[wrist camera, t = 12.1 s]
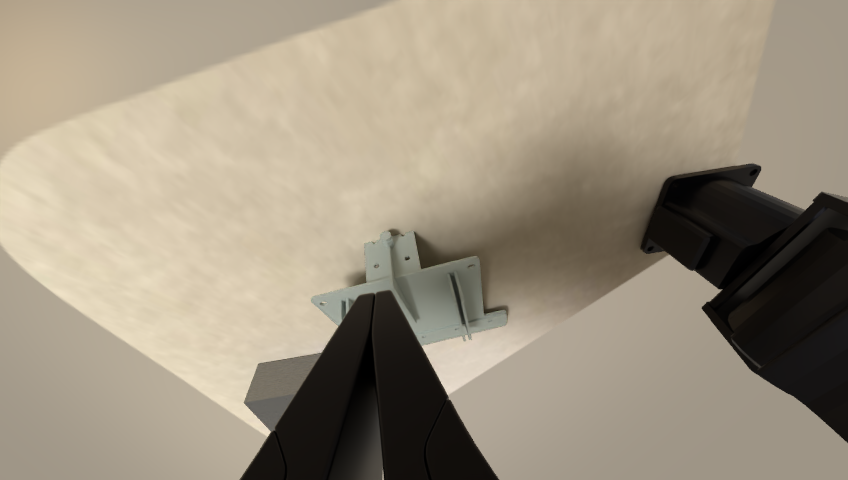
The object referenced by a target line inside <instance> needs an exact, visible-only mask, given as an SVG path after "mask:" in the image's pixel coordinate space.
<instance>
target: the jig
mask: <svg viewBox="0 0 848 480" xmlns="http://www.w3.org/2000/svg"><path fill="white" fill-rule="evenodd" d="M320 355H321V353H320V354H314V355H308V356H303V357H297V358H291V359H285V360H279V361H273V362H267V363H261V364H258V366H257V369H256V372H255V374H254V377H253V379H252V382H251V385H250V387H249V390H248V393H247V395H246V398H245V401H244V404H245V405H246V406H247V407H248V408H249V409H250V410H251V411H252V412H253V413H254V414H255V415H256V416H257V417H258V418H259V419H260V420H261V421H262V423H263V424H264V425H265V426H266V427H267V428H268V429H269V430H270V431H273V430H275V425H276V424H277V422H278V420H279V419H280V417H281V416H282V414H283V413H284V411H285V410H286V408H287V406H288V405H289V403H290V402H291V400H292V399H293V397H294V395H295V394H296V392H297V391H298V389H299V388H300V386H301V384H302V383H303V381H304V380H305V378H306V377H307V375H308V373H309V372H310V370H311V369H312V367H313V366H314V364H315V363H316V361H317V359H318V358H319V356H320Z"/></svg>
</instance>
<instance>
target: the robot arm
mask: <svg viewBox="0 0 848 480" xmlns="http://www.w3.org/2000/svg"><path fill="white" fill-rule="evenodd" d="M760 171H761V166H759V165H756V164H746V165H740V166H733V167H727V168H721V169H715V170H709V171H703V172H696V173H690V174H684V175H678V176H673V177H670V178H669V179H668V180H667V181H666V182H665V184H664V186H663V189H662V192H661V194H660V197H659V200H658V202H657V205H656V208H655V210H654V213H653V216H652V218H651V221H650V224H649V226H648V229H647V232H646V234H645V237H644V240H643V242H642V245H641V250H642V251H643V252H644V253H646V254H650V253H656V252H661V251H666V252H667V253H668V254H669V255H671V256H672V257H673V258H675V259H676V260H677V261H678V262H680V263H681V264H682V265H684V266H685V267H686V268H687V269H689V270H692V271H693V270H694V271H696V272H697V273H699V274H700V275H701V276H702V277H704V278H705V279H706V280H707V281H709V282H710V283H711V284H713V285H714V286H715V287H717V288H718V289H723V290H722V291H721V292H720V293H718V294H717V296H715V297H714V298H713V299H712V300H711V301H710V302H707V303H706V304H705V305H704V306H703V307H702V309H703V311H704V312H705V313H706V314H707V316H708V317H709V318H710V320H711V321H712V323H713V324H714V325H715V326H716V328H717V329H718V330H719V331H720V333H721V334H722V335H723V336H724V338H725V339H726V340H727V341H728V342H729V344H730V345H731V346H732V347H733V349H734V350H735V351H736V352H737V354H738V355H739V356H740V357H741V359H742V360H743V361H744V362H745V364H746V365H747V366H748V367H749V369H751V371H753V372H754V373H756V374H758V375H759V376H760V377H762V378H763V379H765V380H766V381H768V382H770V383H771V384H773V385H774V386H776V387H777V388H779V389H781V390H782V391H784V392H786V393H788V394H790V395H792V396H794V397H795V398H796V399H798V400H799V401H800V402H802V403H803V404H804V405H806V406H807V407H808V408H809V409H810V410H811V411H813V412H814V413H815V414H816V415H817V416H818V417H820V418H821V419H822V420H823V421H824V422H825V423H826V424H827V425H828V426H830V427H831V428H832V429H833V430H834V431H835V432H836V433H837V434H839V435H840V436H841V437H842V438H843V439H844V440H845V441H847V443H848V198H847V197H843V196H839V195H834V194H829V193H825V192H821V193H820V194H819V195H818V196H817V197H816V198H815V199H814V200H813V201H814V203H812V205H810V206H809V207H808V208H807V209H806V210H804V209H801V208H799V207H797V206H794V205H792V204H790V203H787V202H785V201H783V200H780V199H778V198H776V197H773V196H771V195H768V194H766V193H764V192H761V191H759V190H757V189H754V188H752V186H753V184H754V182H755V180H756V179H757V177H758V175H759V173H760ZM382 470H383V472H384V480H499V479H498V477H497V476H496V474H495V473H494V472H493V470H492V469H491V467H490V465H489V464H488V463H487V461H486V460H485V458H484V456H483V455H482V453H481V452H480V450H479V449H478V447H477V446H476V444H475V443H474V441H473V439H472V438H471V436H470V434H469V432H468V431H467V429H466V427H465V426H464V424H463V422H462V420H461V419H460V417H459V415H458V413H457V411H456V409H455V408H454V406H453V404H452V402H451V400H449V397H448V395H447V393H446V391H445V389H444V387H443V385H442V384H441V382H440V380H439V378H438V376H437V374H436V372H435V371H434V369H433V367H432V365H431V363H430V361H429V359H428V358H427V356H426V354H425V352H424V350H423V348H422V346H421V344H420V343H419V341H418V339H417V337H416V335H415V333H414V331H413V330H412V328H411V326H410V324H409V322H408V320H407V318H406V316H405V315H404V313H403V311H402V309H401V307H400V305H399V303H398V302H397V300H396V298H395V296H394V294H393V292H392V291H391V290H384V291H378V292H376V294H375V293H366V294H361V295H359V296H358V297H357V298H356V300H355V301H354V303H353V305H352V306H351V308H350V309H349V311H348V312H347V314H346V315H345V317H344V319H343V320H342V322H341V323H340V325H339V326H338V328H337V330H336V331H335V333H334V334H333V336H332V337H331V339H330V341H329V342H328V344H327V345H326V347H325V348H324V350H323V352H322V353H321V355H320V356H319V358H318V359H317V361H316V363H315V364H314V366H313V367H312V369H311V370H310V372H309V373H308V375H307V377H306V378H305V380H304V381H303V383H302V384H301V386H300V388H299V389H298V391H297V392H296V394H295V395H294V397H293V399H292V400H291V402H290V403H289V405H288V406H287V408H286V410H285V411H284V413H283V414H282V416H281V417H280V419H279V420H278V422H277V424H276V425H275V430H273V431H271V433H270V434H269V436H268V437H267V439H266V441H265V442H264V444H263V445H262V447H261V448H260V450H259V452H258V453H257V455H256V456H255V458H254V459H253V461H252V462H251V464H250V465H249V467H248V468H247V470H246V471H245V473H244V474H243V476H242V477H241V479H240V480H382Z"/></svg>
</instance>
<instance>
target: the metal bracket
mask: <svg viewBox="0 0 848 480" xmlns="http://www.w3.org/2000/svg"><path fill="white" fill-rule="evenodd" d="M364 248H365V266H366V283H364V284H360V285H356V286H352V287H348V288H344V289H340V290H336V291H332V292H328V293H324V294H320V295H316V296H313V297H312V298H311V302H312V303H313V304H314V305H315V306H316V307H318V308H319V309H320V310H321V311H322V312H323V313H324V314H325V315H327V316H328V317H329V318H330V319H331V320H332V321H333V322H334V323H335V324H337V325H338V326H339V325H340V323H341V322H342V320H343V319H344V317H345V315H346V314H347V312H348V311H349V309H350V308H351V306H352V305H353V303H354V301H355V300H356V298H357V297H358V296H359V295H361V294H366V293H375V294H376V292H378V291H384V290H391V291H392V292H393V294H394V296H395V298H396V300H397V302H398V303H399V305H400V307H401V309H402V311H403V313H404V315H405V316H406V318H407V320H408V322H409V324H410V326H411V328H412V330H413V331H414V333H415V335H416V337H417V339H418V341H419V343H420V344H421V346H422V345H427V344H431V343H435V342H439V341H443V340H447V339H452V338H456V337H460V336H462V337H463V341H466V339H465V335H468V337H469V340H472V339H471V334H472V333H477V332H481V331H485V330H489V329H493V328H497V327H502V326H505V325H506V323H507V313H506V310H500V311H496V312H492V313H487V314H484V310H483V297H482V284H481V271H480V260H479V257H478V256H472V257H468V258H464V259H460V260H456V261H452V262H448V263H444V264H440V265H436V266H432V267H428V268H424V269H421V266H420V261H419V256H418V250H417V245H416V240H415V235H414V231H411V232H407V233H406V235H405V236H401V234H399V235H395V236H392V235H391V233H390V232H388V231H384V232H383V233H381V234H380V240H377V242H376V243H375V244H373V243H372V242H368V243H364ZM407 257H409V258H410V259H409V260H405V259H406V258H407ZM376 265H379V267H378V268H375V266H376ZM469 265H473V266H472V267H468V266H469ZM321 302H327V303H321Z"/></svg>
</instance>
